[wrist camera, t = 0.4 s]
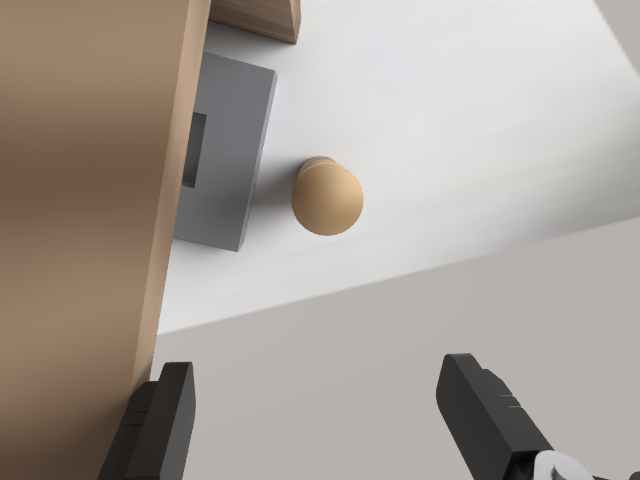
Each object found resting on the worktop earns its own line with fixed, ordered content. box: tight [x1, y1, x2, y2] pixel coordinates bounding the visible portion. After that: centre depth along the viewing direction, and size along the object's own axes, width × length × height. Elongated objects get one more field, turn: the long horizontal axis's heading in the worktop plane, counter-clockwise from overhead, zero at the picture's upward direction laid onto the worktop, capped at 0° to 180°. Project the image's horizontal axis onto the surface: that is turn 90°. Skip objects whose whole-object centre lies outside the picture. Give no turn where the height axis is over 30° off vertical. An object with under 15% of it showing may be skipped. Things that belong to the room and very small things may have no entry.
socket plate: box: [173, 52, 277, 252], centre depth 35 cm, size 16×16×3 cm
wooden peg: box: [292, 156, 363, 236], centre depth 31 cm, size 4×4×14 cm
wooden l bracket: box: [0, 0, 301, 480], centre depth 22 cm, size 22×16×28 cm
